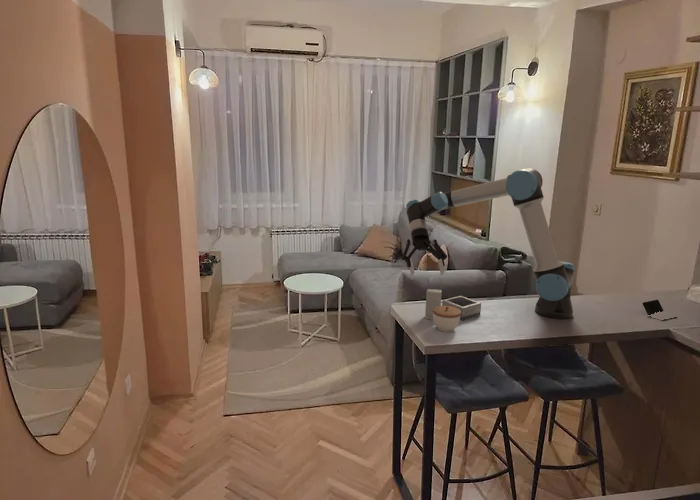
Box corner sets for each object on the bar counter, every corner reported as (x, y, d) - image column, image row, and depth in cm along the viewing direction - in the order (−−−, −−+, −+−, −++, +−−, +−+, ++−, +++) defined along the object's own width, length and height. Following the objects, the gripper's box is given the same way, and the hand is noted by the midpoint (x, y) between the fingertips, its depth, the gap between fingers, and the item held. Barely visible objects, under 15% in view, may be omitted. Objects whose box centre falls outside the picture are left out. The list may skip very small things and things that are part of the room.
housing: (480, 315, 199) (481, 303, 198) (462, 320, 192) (463, 308, 191) (459, 307, 208) (460, 295, 207) (441, 312, 201) (442, 300, 200)
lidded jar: (464, 333, 180) (466, 310, 178) (439, 335, 177) (441, 312, 175) (451, 322, 190) (452, 300, 188) (427, 324, 187) (428, 302, 185)
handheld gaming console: (667, 319, 196) (656, 296, 200) (650, 324, 201) (639, 302, 205) (678, 317, 203) (667, 296, 206) (661, 323, 208) (651, 302, 212)
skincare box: (440, 317, 196) (442, 289, 193) (439, 320, 192) (441, 293, 189) (425, 315, 197) (427, 288, 194) (424, 319, 193) (426, 291, 190)
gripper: (442, 236, 216) (451, 277, 205) (390, 235, 210) (397, 277, 200) (448, 227, 209) (458, 269, 199) (394, 226, 204) (402, 269, 194)
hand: (427, 273), depth 199 cm, fingers open, 13 cm apart
